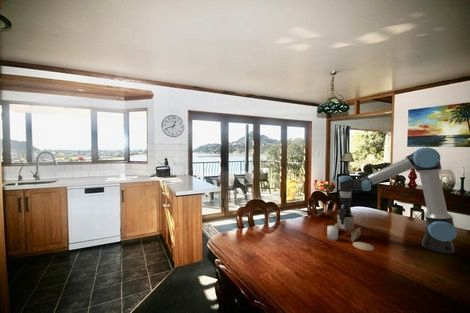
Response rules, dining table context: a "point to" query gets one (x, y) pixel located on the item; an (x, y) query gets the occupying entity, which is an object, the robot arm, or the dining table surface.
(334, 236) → the white cylinder
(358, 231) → the cradle
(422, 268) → the dining table surface
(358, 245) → the mat
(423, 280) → the dining table surface
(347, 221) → the planter
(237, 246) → the dining table surface
